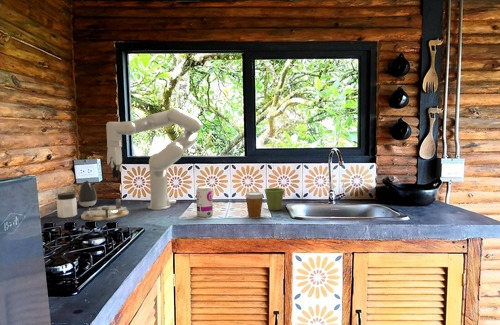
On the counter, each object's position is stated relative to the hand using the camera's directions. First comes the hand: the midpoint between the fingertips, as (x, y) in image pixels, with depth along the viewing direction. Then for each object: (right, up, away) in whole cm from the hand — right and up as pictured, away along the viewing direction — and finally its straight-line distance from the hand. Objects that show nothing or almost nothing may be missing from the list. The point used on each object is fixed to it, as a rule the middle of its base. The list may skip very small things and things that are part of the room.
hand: (116, 177), depth 178 cm
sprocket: (-3, -18, -7) cm, 20 cm away
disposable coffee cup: (+77, -20, -13) cm, 80 cm away
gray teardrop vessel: (-23, -18, +16) cm, 34 cm away
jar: (-22, -20, -8) cm, 31 cm away
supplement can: (+51, -20, -10) cm, 55 cm away
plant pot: (+88, -18, +3) cm, 90 cm away
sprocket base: (-3, -20, -7) cm, 21 cm away
